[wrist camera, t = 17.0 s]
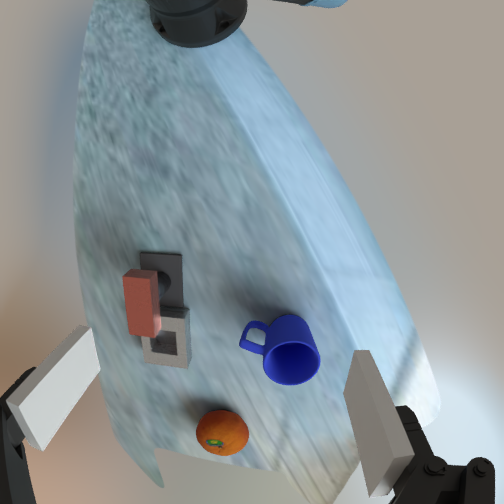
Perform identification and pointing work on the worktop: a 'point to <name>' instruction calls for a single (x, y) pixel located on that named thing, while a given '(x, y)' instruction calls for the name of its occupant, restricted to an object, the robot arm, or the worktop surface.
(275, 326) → the mug
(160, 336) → the block
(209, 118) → the worktop surface
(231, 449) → the fruit
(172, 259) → the mat
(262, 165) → the worktop surface
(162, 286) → the key
